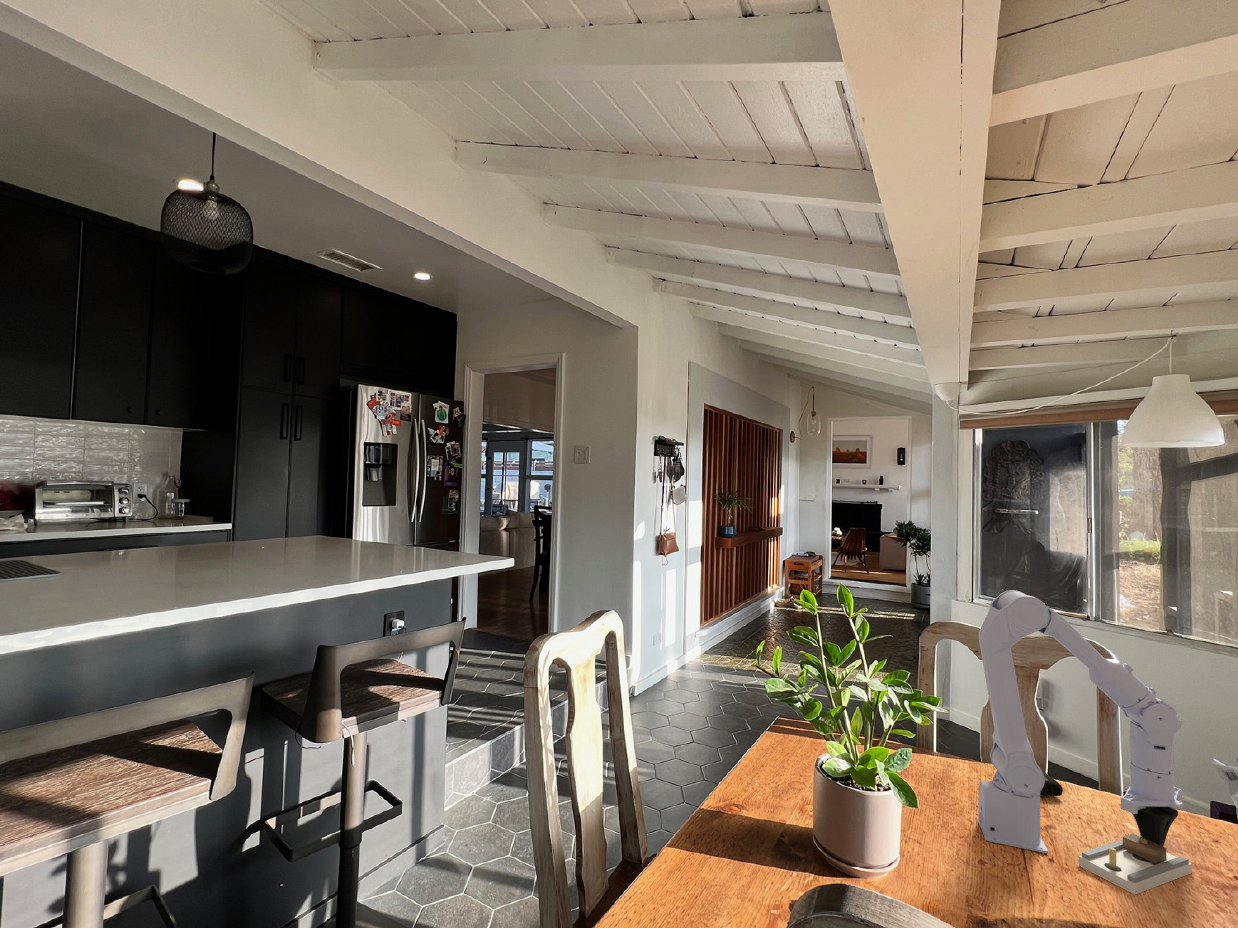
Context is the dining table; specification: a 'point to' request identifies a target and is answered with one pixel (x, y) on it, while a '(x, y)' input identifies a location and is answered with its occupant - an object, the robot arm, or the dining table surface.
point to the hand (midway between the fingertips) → (1152, 848)
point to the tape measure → (1051, 787)
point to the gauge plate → (1132, 867)
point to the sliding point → (1144, 848)
